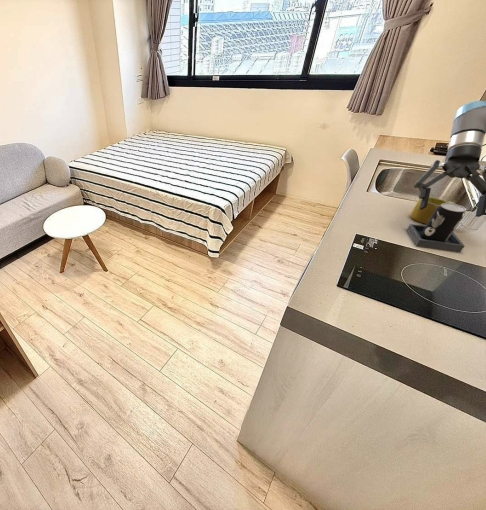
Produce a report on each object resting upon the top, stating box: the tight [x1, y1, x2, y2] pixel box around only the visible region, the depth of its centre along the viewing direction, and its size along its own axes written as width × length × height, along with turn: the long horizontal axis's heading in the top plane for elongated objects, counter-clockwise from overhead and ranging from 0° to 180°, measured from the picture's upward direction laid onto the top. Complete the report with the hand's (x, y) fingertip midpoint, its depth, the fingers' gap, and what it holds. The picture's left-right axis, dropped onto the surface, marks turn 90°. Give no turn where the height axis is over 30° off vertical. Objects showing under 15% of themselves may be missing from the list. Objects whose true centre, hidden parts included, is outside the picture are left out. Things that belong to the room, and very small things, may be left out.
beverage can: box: [421, 203, 467, 242], centre depth 90 cm, size 7×7×12 cm
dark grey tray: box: [406, 223, 466, 254], centre depth 93 cm, size 11×11×3 cm
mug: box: [410, 196, 456, 226], centre depth 102 cm, size 12×10×10 cm
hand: (450, 211), depth 87 cm, fingers open, 13 cm apart
